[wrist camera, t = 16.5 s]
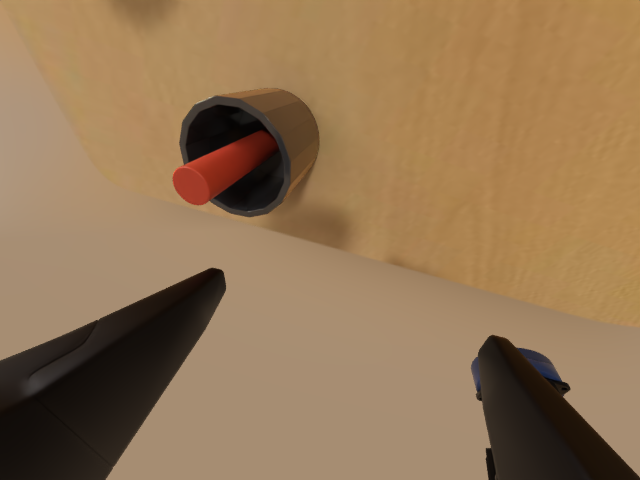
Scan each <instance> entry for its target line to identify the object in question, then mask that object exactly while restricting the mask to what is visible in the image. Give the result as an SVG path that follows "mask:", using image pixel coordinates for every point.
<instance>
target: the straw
mask: <svg viewBox="0 0 640 480" xmlns="http://www.w3.org/2000/svg"><path fill="white" fill-rule="evenodd" d="M278 151H280V150H279V147H278V144H277V142H276V139H275V138H274V137H273V136H272V134H271V133H270V132H269V131H268V129H267V128H264V129H262V130H260V131H257V132H255V133H253V134H251V135H249V136H246V137H244V138H242V139H240V140H238V141H235V142H233V143H231V144H229V145H227V146H225V147H222V148H220V149H218V150H216V151H214V152H211V153H209V154H207V155H205V156H203V157H200V158H198V159H196V160H194V161H192V162H189V163H187V164H185V165H183V166H181V167H179V168H177V169H176V170H175V172H174V174H173V184H174V187H175V189H176V191H177V192H178V194H179V195H180V196H181V197H182V198H183V199H184V200H185V201H187V202H189V203H191V204H194V205H203V204H205V203H207V202H208V201H210V200H211V199H213V198H214V197H215V196H217V195H218V194H220V193H221V192H222V191H224V190H225V189H227V188H228V187H229V186H231V185H232V184H234V183H235V182H236V181H238V180H239V179H241V178H242V177H243V176H245V175H246V174H248V173H249V172H250V171H252V170H253V169H255V168H256V167H257V166H259V165H260V164H261V163H263V162H264V161H266V160H267V159H268V158H270V157H271V156H273V155H274V154H275V153H277V152H278Z"/></svg>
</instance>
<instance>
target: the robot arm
mask: <svg viewBox="0 0 640 480" xmlns="http://www.w3.org/2000/svg"><path fill="white" fill-rule="evenodd" d="M225 291H226V283H225V277H224V273H223V271H222V270H220V269H216V268H210V269H207V270H205V271H203V272H201V273H199V274H196V275H194V276H192V277H190V278H188V279H185V280H183V281H181V282H179V283H177V284H175V285H173V286H170V287H168V288H166V289H164V290H162V291H159V292H157V293H155V294H153V295H151V296H149V297H146V298H144V299H142V300H140V301H137V302H135V303H133V304H131V305H129V306H127V307H124V308H122V309H120V310H118V311H116V312H113V313H111V314H109V315H107V316H105V317H103V318H100V319H99V320H96V321H94V322H91V323H89V324H87V325H85V326H83V327H80V328H78V329H76V330H74V331H72V332H69V333H67V334H65V335H62V336H60V337H58V338H55V339H53V340H51V341H48V342H46V343H43V344H41V345H38V346H36V347H33V348H31V349H28V350H26V351H23V352H21V353H18V354H16V355H13V356H11V357H8V358H6V359H3V360H1V361H0V480H106V478H107V477H108V475H109V474H110V472H111V471H112V469H113V467H114V466H115V464H116V463H117V461H118V460H119V458H120V457H121V455H122V454H123V452H124V451H125V449H126V448H127V446H128V445H129V443H130V442H131V440H132V439H133V437H134V436H135V434H136V433H137V431H138V430H139V428H140V427H141V425H142V424H143V422H144V421H145V419H146V417H147V416H148V415H149V413H150V412H151V410H152V409H153V407H154V406H155V404H156V403H157V401H158V400H159V398H160V397H161V395H162V394H163V392H164V391H165V389H166V388H167V386H168V385H169V383H170V382H171V380H172V379H173V377H174V376H175V374H176V373H177V371H178V370H179V368H180V367H181V365H182V364H183V362H184V361H185V359H186V357H187V356H188V355H189V353H190V352H191V350H192V349H193V347H194V346H195V344H196V343H197V341H198V340H199V338H200V337H201V335H202V334H203V332H204V330H205V329H206V327H207V325H208V324H209V322H210V320H211V318H212V316H213V314H214V312H215V310H216V308H217V306H218V304H219V303H220V300H221V299H222V297H223V295H224V293H225ZM478 364H479V374H480V384H481V389H480V390H479V391H478V392H477V394H476V397H477V399H478V400H479V401H482V403H483V410H484V415H485V420H486V425H487V430H488V435H489V439H490V444H491V448H486V455H487V457H486V463H487V471H488V478H489V480H640V477H639V476H638V475H637V474H636V473H635V472H634V471H633V470H632V469H631V468H630V467H629V466H628V465H627V464H626V463H625V462H624V460H623V459H621V457H620V456H619V455H618V454H617V453H616V452H615V451H614V450H613V449H612V448H611V447H610V446H609V445H608V444H607V443H606V442H605V441H604V439H603V438H602V437H601V436H600V435H599V434H598V433H597V432H596V431H595V430H594V429H593V428H592V427H591V426H590V425H589V424H588V423H587V422H586V421H585V420H584V419H583V417H582V416H581V415H580V414H579V413H578V412H577V411H576V410H575V409H574V408H573V407H572V406H571V405H570V404H569V403H568V402H567V401H566V400H565V399H564V398H563V397H562V396H563V395H564V394H565V393H567V392H568V391H569V390H570V387H569V385H568V384H567V383H565V382H562V381H558V380H554V379H550V378H546V377H543V376H542V375H541V373H540V372H539V371H538V370H537V369H536V368H535V367H534V366H533V365H532V364H531V363H530V362H529V361H528V360H527V359H526V358H525V357H524V356H523V355H522V354H521V353H520V352H519V350H518V349H517V348H516V347H515V346H514V345H513V344H512V343H511V342H510V341H509V340H508V339H506V338H503V337H499V336H495V335H491V336H489V337H488V339H487V340H486V341H485V343H484V344H483V346H482V347H481V348H480V350H479V352H478Z"/></svg>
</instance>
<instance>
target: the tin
mask: <svg viewBox="0 0 640 480" xmlns="http://www.w3.org/2000/svg"><path fill="white" fill-rule="evenodd" d="M264 128H267V129H268V131H269V132H270V133H271V134H272V136H273V137H274V138H275V139H276V142H277V144H278V147H279V150H280V151H278V152H277V153H275V154H274V155H273V156H271V157H270V158H268V159H267V160H266V161H264V162H263V163H261V164H260V165H259V166H257V167H256V168H255V169H253V170H252V171H250V172H249V173H248V174H246V175H245V176H243V177H242V178H241V179H239V180H238V181H236V182H235V183H234V184H232V185H231V186H229V187H228V188H227V189H225V190H224V191H222V192H221V193H220V194H218V195H217V196H215V197H214V198H213V199H211V200H210V202H211V203H213V204H214V205H216V206H218V207H220V208H222V209H223V210H225V211H227V212H229V213H231V214H235V215H240V216H245V217H254V216H259V215H264V214H268V213H269V212H271V211H272V210H273V209H275V208H276V207H277V206H279V205H280V204H281V203H282V202H283V201H284V200H285V198H286V197H287V196H288V195H289V194H290V192H291V191H292V190H293V189H294V188H295V186H296V185H297V184H298V183H299V182H300V180H301V179H302V178H303V177H304V176H305V174H306V173H307V172H308V171H309V170H310V168H311V166H312V164H313V163H314V161H315V159H316V156H317V153H318V149H319V132H318V127H317V124H316V121H315V119H314V117H313V115H312V113H311V111H310V110H309V108H308V107H307V106H306V105H305V104H304V103H303V102H302V101H301V100H300V99H299V98H298V97H296V96H295V95H293V94H291V93H290V92H287V91H284V90H281V89H269V88H264V89H257V90H250V91H243V92H236V93H229V94H223V95H216V96H212V97H210V98H208V99H205V100H203V101H200V102H198V103H196V104H195V105H194V106H193V107H192V109H191V110H190V111H189V113H188V114H187V116H186V117H185V119H184V120H183V122H182V128H181V135H180V142H179V143H180V144H179V145H180V149H181V154H182V158H183V162H184V165H185V164H187V163H189V162H192V161H194V160H196V159H198V158H200V157H203V156H205V155H207V154H209V153H211V152H214V151H216V150H218V149H220V148H222V147H225V146H227V145H229V144H231V143H233V142H235V141H238V140H240V139H242V138H244V137H246V136H249V135H251V134H253V133H255V132H257V131H260V130H262V129H264Z"/></svg>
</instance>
